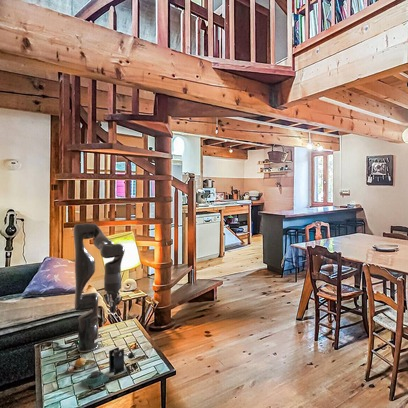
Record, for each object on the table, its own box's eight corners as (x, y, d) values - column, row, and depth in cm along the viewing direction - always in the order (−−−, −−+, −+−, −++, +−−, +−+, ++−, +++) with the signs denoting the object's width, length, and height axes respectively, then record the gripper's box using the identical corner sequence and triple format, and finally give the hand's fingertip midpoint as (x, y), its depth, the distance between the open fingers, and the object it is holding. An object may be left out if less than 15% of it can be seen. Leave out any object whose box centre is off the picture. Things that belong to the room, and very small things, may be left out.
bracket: (118, 367, 169) (118, 344, 169) (130, 372, 165) (130, 348, 165) (102, 375, 162) (102, 351, 161) (114, 380, 158) (114, 355, 157)
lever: (130, 358, 171) (133, 352, 173) (134, 359, 170) (137, 353, 172) (110, 355, 162) (113, 349, 163) (114, 357, 161) (117, 350, 162)
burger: (101, 363, 173) (101, 350, 173) (83, 376, 161) (83, 361, 161) (80, 362, 173) (79, 349, 173) (60, 375, 161) (60, 360, 161)
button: (88, 377, 154) (88, 374, 154) (97, 373, 157) (97, 370, 157) (93, 379, 153) (93, 375, 153) (101, 375, 156) (101, 372, 156)
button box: (81, 384, 154) (81, 377, 154) (96, 377, 160) (96, 369, 160) (93, 390, 150) (93, 382, 150) (109, 382, 157) (109, 374, 156)
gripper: (97, 281, 170) (98, 312, 170) (113, 284, 164) (113, 317, 165) (112, 277, 176) (112, 307, 177) (127, 280, 171) (127, 312, 172)
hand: (113, 312), depth 171 cm, fingers closed
